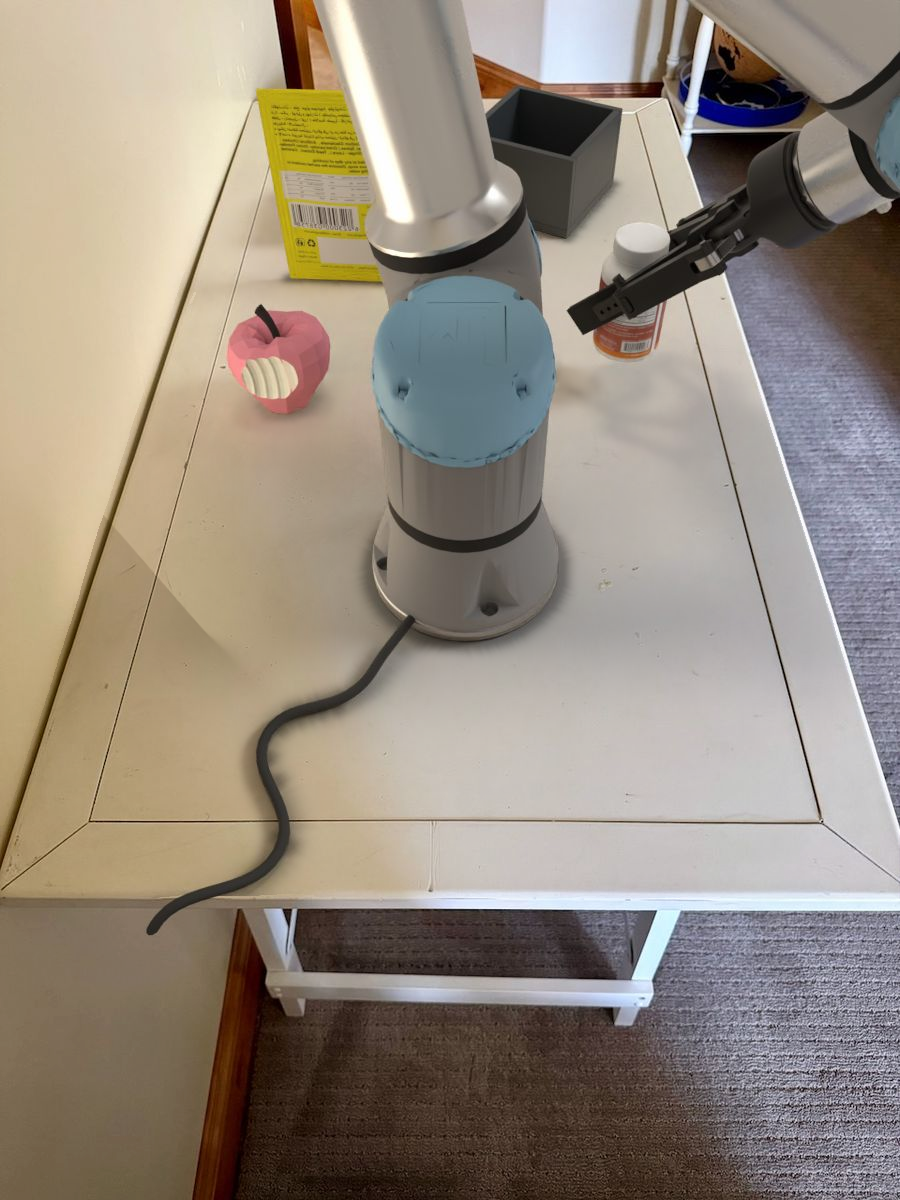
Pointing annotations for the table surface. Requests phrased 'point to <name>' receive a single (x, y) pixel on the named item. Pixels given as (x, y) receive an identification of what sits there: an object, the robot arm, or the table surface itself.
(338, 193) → the food package
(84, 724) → the table surface
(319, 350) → the apple
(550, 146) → the trash bin
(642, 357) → the pill bottle
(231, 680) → the table surface
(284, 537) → the table surface
